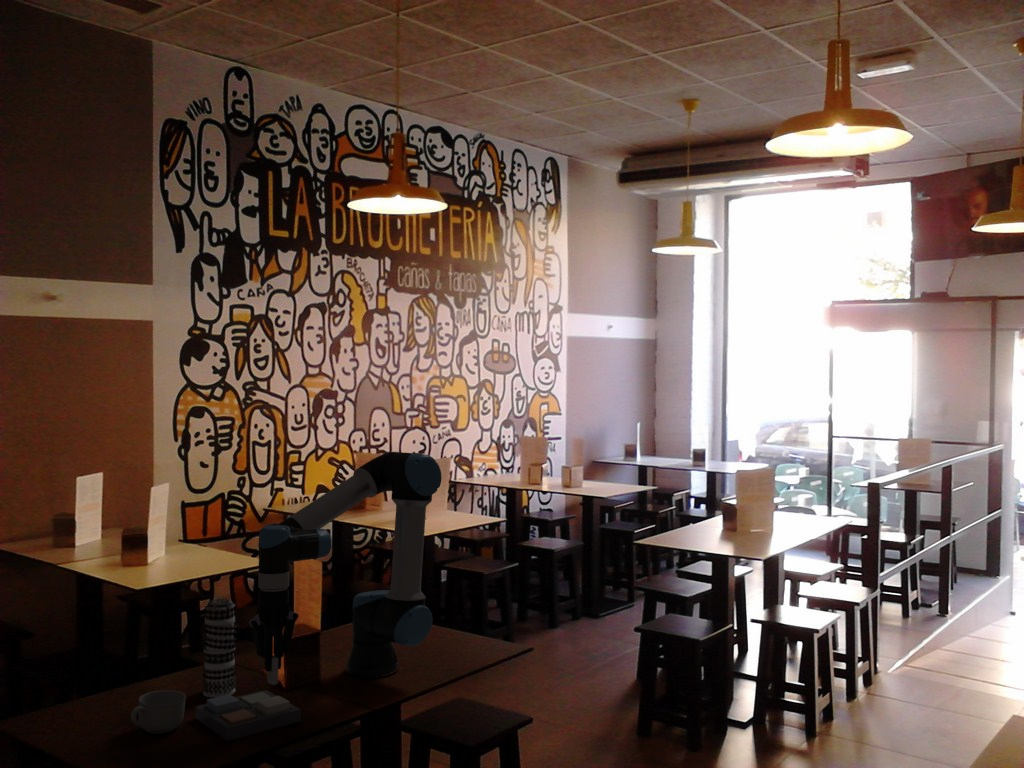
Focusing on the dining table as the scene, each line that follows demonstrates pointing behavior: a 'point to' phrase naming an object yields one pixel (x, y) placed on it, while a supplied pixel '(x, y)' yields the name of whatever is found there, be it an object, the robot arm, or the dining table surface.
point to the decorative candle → (219, 648)
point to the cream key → (272, 705)
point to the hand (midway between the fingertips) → (272, 683)
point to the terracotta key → (238, 717)
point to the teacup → (159, 711)
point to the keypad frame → (248, 726)
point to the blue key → (223, 704)
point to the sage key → (254, 698)
